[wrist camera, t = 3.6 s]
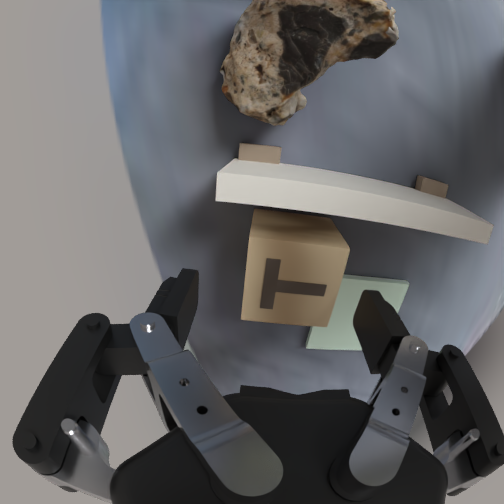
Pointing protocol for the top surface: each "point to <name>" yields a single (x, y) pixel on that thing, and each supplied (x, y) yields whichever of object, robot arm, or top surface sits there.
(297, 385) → the top surface
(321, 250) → the letter cube
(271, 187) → the screen
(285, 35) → the rock
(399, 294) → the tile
